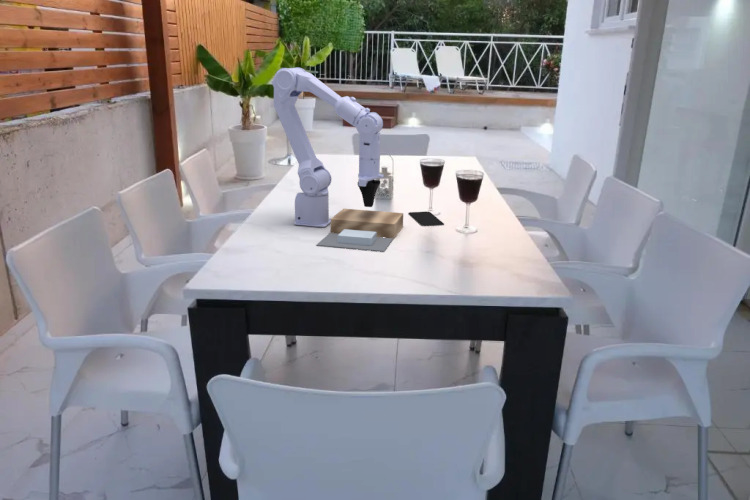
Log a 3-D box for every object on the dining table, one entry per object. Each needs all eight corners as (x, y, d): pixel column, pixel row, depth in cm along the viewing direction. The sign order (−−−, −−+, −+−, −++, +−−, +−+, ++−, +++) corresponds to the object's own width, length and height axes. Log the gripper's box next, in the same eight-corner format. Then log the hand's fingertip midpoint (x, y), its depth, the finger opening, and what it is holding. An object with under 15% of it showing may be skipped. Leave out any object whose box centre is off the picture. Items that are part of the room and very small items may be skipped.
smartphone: (421, 225, 171) (407, 212, 185) (421, 227, 171) (407, 214, 185) (445, 224, 172) (429, 211, 186) (445, 226, 173) (429, 213, 186)
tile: (344, 229, 159) (344, 236, 160) (337, 235, 154) (337, 242, 154) (376, 231, 157) (376, 238, 158) (371, 238, 152) (371, 245, 152)
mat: (316, 245, 152) (316, 244, 152) (329, 233, 163) (329, 232, 163) (384, 252, 148) (384, 250, 148) (393, 239, 159) (393, 238, 158)
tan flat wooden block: (330, 232, 164) (330, 218, 162) (343, 221, 175) (343, 208, 173) (394, 238, 159) (394, 224, 158) (402, 226, 171) (403, 213, 169)
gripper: (376, 163, 154) (375, 214, 158) (389, 155, 167) (388, 201, 172) (351, 162, 156) (350, 211, 160) (365, 153, 169) (365, 199, 173)
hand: (368, 206), depth 166 cm, fingers closed
